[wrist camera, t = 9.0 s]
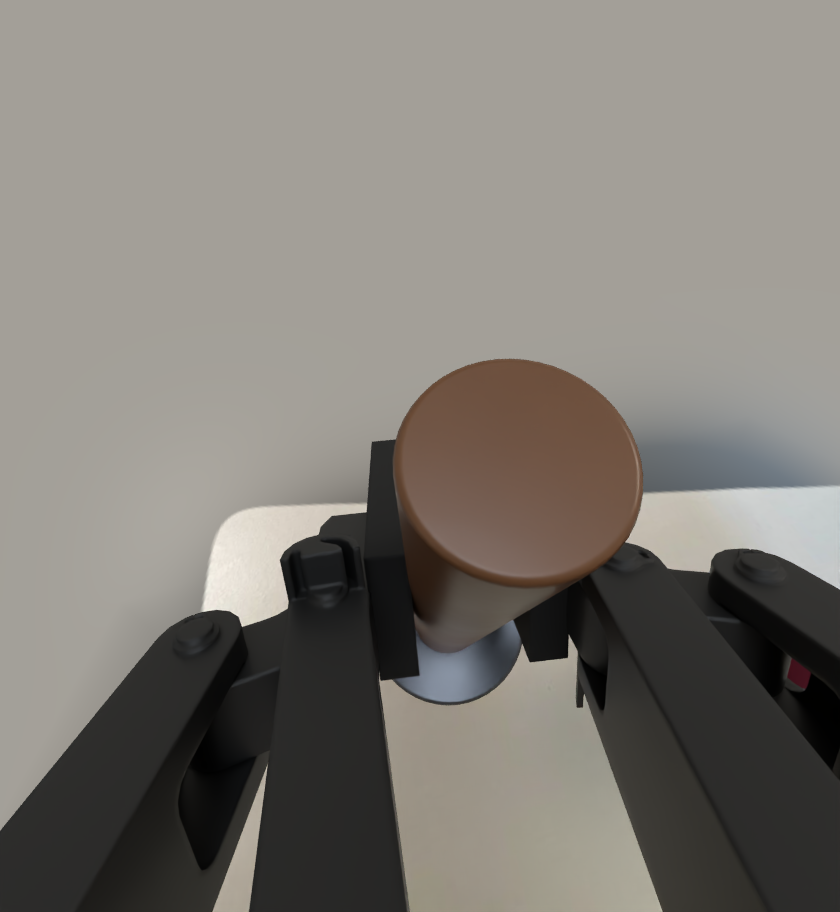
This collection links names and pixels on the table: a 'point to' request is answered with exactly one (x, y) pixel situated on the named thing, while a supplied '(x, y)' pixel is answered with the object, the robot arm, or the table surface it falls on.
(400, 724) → the table surface
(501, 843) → the table surface
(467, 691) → the brown rod
